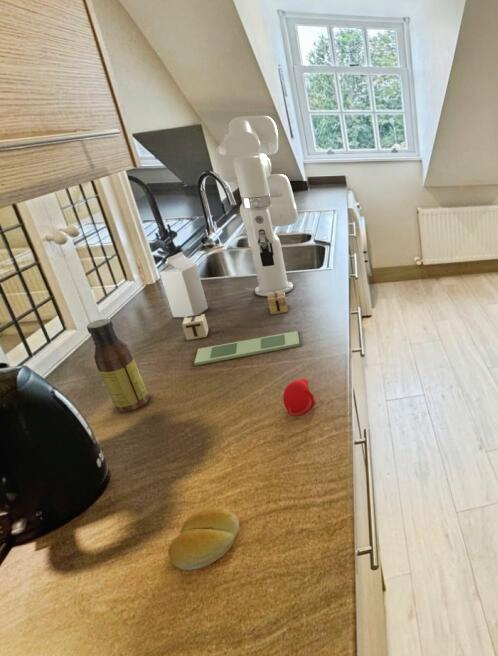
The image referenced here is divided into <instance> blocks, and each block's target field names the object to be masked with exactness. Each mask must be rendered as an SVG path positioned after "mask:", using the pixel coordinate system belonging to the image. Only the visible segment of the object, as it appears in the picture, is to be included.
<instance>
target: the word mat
mask: <svg viewBox="0 0 498 656" xmlns="http://www.w3.org/2000/svg"><path fill="white" fill-rule="evenodd" d="M297 347H300V337H299V332H298V330H295V331H289V332H284V333H278V334H273V335H267V336H262V337H256V338H250V339H246V340H239V341H235V342H234V341H233V342H228V343H223V344H217V345H212V346H206V347H200V348H197V351H196V356H195V359H194V362H193V364H194V366H201V365H205V364H212V363H216V362H222V361H227V360H231V359H232V360H233V359H237V358H243V357H248V356H253V355H259V354H264V353H270V352H275V351H280V350H285V349H291V348H297Z"/></svg>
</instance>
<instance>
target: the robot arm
mask: <svg viewBox="0 0 498 656" xmlns="http://www.w3.org/2000/svg"><path fill="white" fill-rule="evenodd" d="M277 128H278V127H277V125H276V123H275V121H274V120H273V118H271V117H270V116H267V115H246V116H244V115H243V116H242V115H241V116H237V117H234V118H232V119H231V120H230V122H229V123H228V133H226V134H225V135H224V137H223V141H222V142H221V143H219V144H218V145H217V147H216V149H215V152H214V153H215V155H214V157H215V167H216V172H217V174H218V176H219V178H220V179H221V180H222V181H224V182H226V183H233V182H234V183H235V182H237V185H238V190H239V195H240V201H241V204H240V206H239V215H240V217H241V220H242V223H243V225H244V228H245V231H246V235H247V239H248V242H249V247H250V251H251V256H252V261H253V265H254V270H255V274H256V275H255V276H256V279H257V286H256V287H255V288H254V293H255V295H257V296H259V297H268V294H272V293H278V292H285V294H287V293H288V292H290V291H292V290H293V289H294V283H293V282H291V281H288V277H287V270H286V265H285V260H284V255H283V254H284V253H283V249H282V244H281V240H280V238H279V236H278V235H277V234H276V233H275V232H274V227H285V226H290V225H294V224H295V223H297V221H298V219H299V212H298V207H297V203H296V201H295V196H294V192H293V188H292V185H291V182H290V180H289V178H288V177H287V176H286V175H284V174H282V173H272V163H271V159H270V158H269V157H268V156H271V155H275V154H277V153H278V151H279V132H278V129H277Z"/></svg>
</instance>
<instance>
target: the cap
mask: <svg viewBox="0 0 498 656" xmlns="http://www.w3.org/2000/svg"><path fill="white" fill-rule="evenodd" d="M310 390H311V389H310V386H309V380H308V379H306V378H300V379H296V380H293V381H291V382H290V383H288V384H287V386H286V387H285V389H284V391H283V395H282V396H283V397H282V400H283V405H284V407H285V409H286V411H287V414H288V415H290V416H292V417H300V416H303V415H306V414H308V413H309V412H310V411H312V409H313V408H314V406H315V405H316V403H317V402H316V400H315V396H314V395H313V393H312V392H311V391H310Z"/></svg>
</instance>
